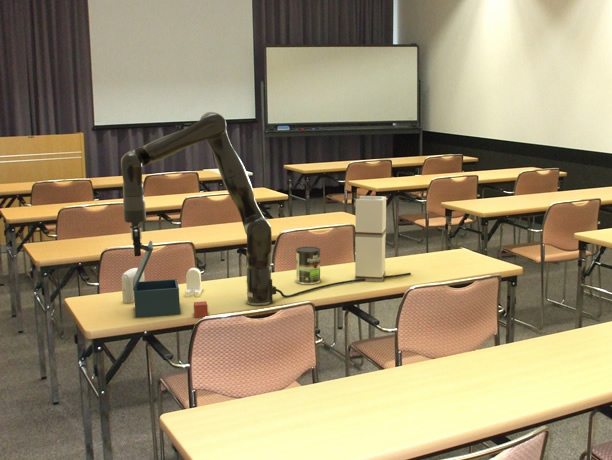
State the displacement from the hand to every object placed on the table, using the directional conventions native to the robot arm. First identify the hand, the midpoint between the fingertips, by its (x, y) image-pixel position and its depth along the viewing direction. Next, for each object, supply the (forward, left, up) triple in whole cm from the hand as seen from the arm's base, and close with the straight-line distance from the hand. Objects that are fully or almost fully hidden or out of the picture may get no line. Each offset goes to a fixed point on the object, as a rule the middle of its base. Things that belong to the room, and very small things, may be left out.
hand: (137, 254), depth 273 cm
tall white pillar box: (-96, -23, -22) cm, 101 cm away
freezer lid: (-2, 0, -4) cm, 5 cm away
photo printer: (+2, -17, -22) cm, 28 cm away
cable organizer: (-21, -20, -22) cm, 36 cm away
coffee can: (-69, -25, -22) cm, 77 cm away
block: (-21, +10, -22) cm, 32 cm away
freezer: (-6, 0, -22) cm, 23 cm away
